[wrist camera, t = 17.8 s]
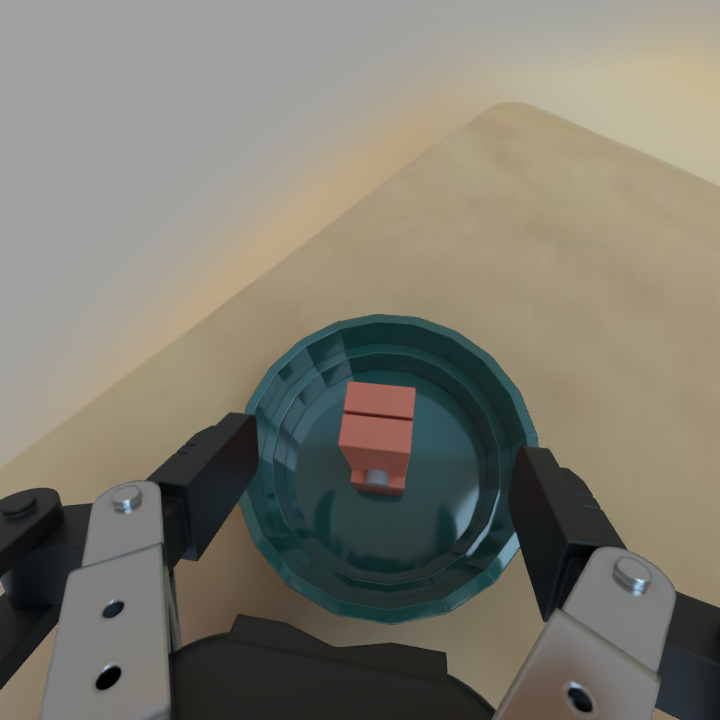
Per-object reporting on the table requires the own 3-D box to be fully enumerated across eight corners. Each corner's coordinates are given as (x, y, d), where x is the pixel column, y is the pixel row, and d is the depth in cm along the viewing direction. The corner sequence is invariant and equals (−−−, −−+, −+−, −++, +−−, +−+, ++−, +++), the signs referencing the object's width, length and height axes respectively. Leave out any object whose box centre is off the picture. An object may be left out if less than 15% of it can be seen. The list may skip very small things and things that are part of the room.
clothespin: (407, 433, 21) (417, 372, 13) (402, 498, 19) (409, 471, 12) (364, 429, 21) (350, 366, 14) (356, 492, 20) (334, 461, 12)
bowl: (503, 367, 23) (530, 324, 18) (510, 624, 17) (552, 653, 13) (295, 349, 24) (273, 305, 20) (242, 578, 19) (195, 590, 14)
